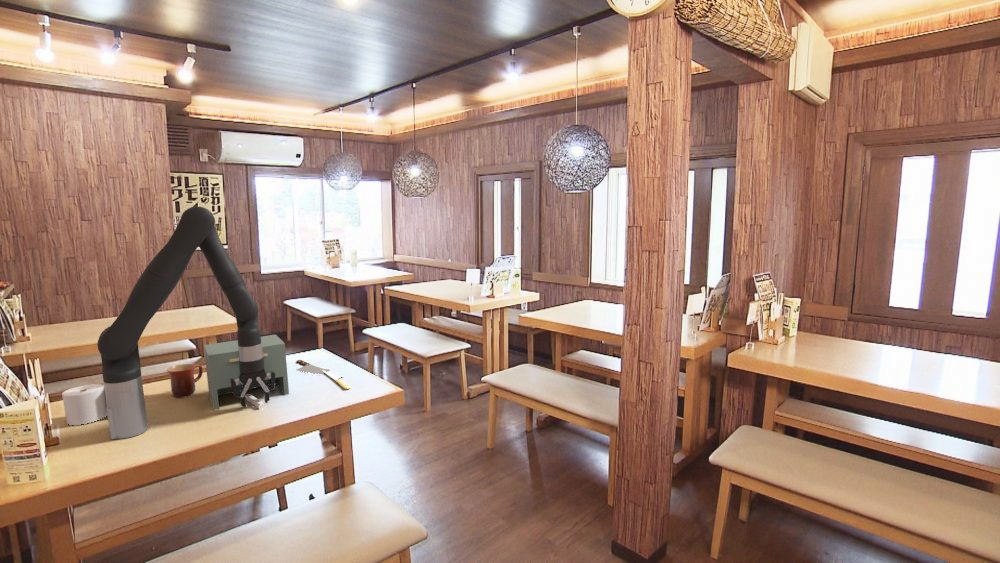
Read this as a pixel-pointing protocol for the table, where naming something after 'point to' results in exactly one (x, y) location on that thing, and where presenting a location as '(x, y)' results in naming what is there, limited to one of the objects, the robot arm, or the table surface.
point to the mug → (183, 379)
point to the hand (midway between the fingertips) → (255, 404)
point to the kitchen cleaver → (310, 368)
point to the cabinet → (226, 366)
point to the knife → (337, 379)
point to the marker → (255, 401)
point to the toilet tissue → (85, 404)
